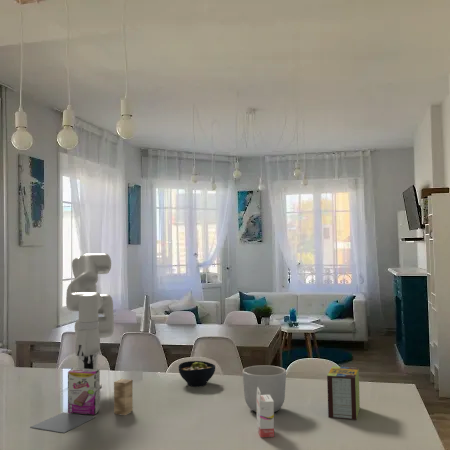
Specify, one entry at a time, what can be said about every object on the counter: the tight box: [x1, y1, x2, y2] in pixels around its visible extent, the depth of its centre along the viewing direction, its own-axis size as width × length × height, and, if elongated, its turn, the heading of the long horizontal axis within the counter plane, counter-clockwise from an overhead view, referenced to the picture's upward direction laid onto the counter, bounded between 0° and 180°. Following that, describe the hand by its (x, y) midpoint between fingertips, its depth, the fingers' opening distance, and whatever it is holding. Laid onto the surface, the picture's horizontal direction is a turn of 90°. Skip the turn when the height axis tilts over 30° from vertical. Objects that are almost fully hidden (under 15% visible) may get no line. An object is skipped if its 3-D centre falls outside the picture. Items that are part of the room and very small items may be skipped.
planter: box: [242, 364, 287, 413], centre depth 197 cm, size 17×17×15 cm
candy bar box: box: [67, 367, 101, 416], centre depth 195 cm, size 11×5×16 cm, turn 84°
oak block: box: [113, 378, 133, 416], centre depth 196 cm, size 5×5×12 cm
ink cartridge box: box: [256, 387, 275, 438], centre depth 172 cm, size 9×5×15 cm, turn 5°
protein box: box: [326, 365, 361, 421], centre depth 193 cm, size 10×15×16 cm
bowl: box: [178, 360, 216, 388], centre depth 235 cm, size 17×17×10 cm
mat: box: [29, 411, 96, 434], centre depth 185 cm, size 15×17×1 cm
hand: (88, 372), depth 199 cm, fingers closed
